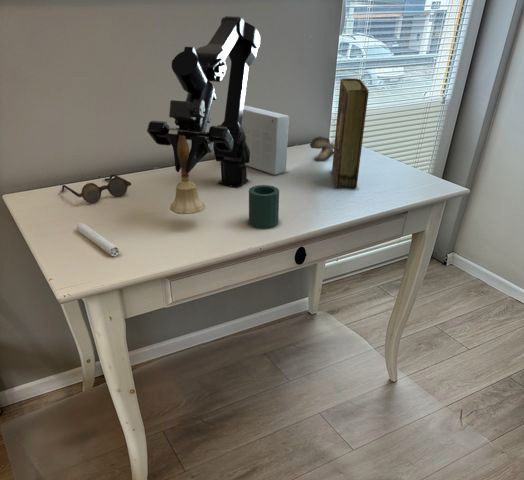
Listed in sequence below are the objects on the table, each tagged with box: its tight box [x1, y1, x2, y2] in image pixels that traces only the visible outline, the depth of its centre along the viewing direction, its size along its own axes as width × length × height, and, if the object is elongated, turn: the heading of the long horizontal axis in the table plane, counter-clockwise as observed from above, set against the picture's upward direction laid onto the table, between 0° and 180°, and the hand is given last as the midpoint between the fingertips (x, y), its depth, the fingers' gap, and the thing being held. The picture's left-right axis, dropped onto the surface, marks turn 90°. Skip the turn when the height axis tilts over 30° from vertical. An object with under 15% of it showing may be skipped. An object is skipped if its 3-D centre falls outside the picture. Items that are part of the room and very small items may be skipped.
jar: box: [248, 184, 280, 230], centre depth 117 cm, size 7×7×8 cm
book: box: [331, 78, 370, 189], centre depth 137 cm, size 16×6×25 cm, turn 179°
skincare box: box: [241, 104, 290, 176], centre depth 149 cm, size 21×6×16 cm, turn 43°
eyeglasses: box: [61, 173, 132, 204], centre depth 133 cm, size 15×15×5 cm
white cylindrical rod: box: [76, 222, 120, 257], centre depth 110 cm, size 18×2×2 cm, turn 41°
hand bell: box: [169, 135, 207, 215], centre depth 111 cm, size 8×8×16 cm
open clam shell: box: [309, 136, 335, 162], centre depth 160 cm, size 8×7×9 cm
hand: (181, 171), depth 109 cm, fingers closed on hand bell
